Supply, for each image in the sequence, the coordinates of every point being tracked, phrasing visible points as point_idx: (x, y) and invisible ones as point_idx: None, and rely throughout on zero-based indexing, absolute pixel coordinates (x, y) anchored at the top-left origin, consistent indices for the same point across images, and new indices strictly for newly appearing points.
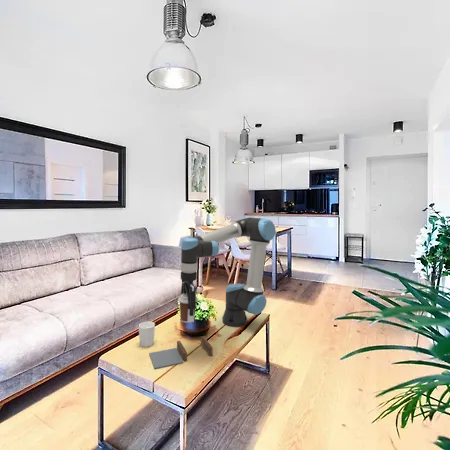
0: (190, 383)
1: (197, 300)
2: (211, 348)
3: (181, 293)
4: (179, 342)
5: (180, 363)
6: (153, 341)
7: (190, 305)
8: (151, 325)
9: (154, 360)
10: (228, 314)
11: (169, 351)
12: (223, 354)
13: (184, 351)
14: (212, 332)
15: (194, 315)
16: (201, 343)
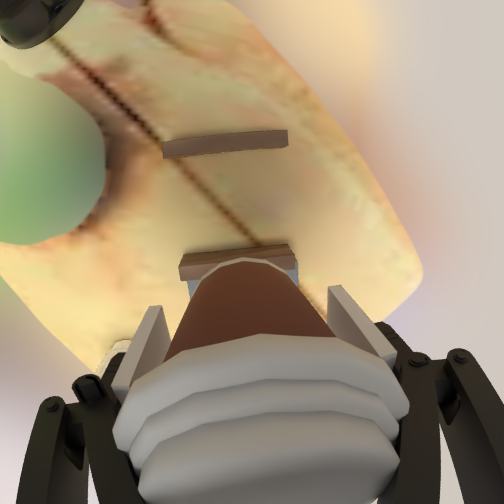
0: (400, 256)
1: (342, 344)
2: (286, 135)
3: (84, 484)
4: (195, 272)
5: (296, 270)
6: None
7: (452, 416)
8: None
9: None
10: (32, 11)
11: None
12: (284, 87)
13: (281, 264)
14: (86, 90)
15: (276, 274)
16: (178, 157)
